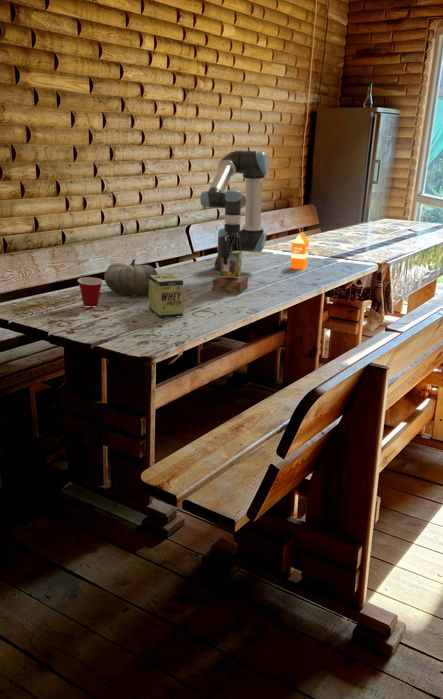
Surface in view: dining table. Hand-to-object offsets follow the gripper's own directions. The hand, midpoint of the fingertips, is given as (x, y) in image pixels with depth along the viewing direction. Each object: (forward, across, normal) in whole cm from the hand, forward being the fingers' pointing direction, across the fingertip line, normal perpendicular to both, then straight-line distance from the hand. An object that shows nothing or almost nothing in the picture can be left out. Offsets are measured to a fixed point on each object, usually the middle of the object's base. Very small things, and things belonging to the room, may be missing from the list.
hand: (230, 269), depth 331 cm
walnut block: (+11, 0, 0) cm, 11 cm away
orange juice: (+11, +73, -9) cm, 74 cm away
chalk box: (+3, 0, 0) cm, 3 cm away
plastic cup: (+10, -63, +37) cm, 74 cm away
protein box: (+10, -55, +4) cm, 56 cm away
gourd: (+10, -34, +36) cm, 51 cm away
